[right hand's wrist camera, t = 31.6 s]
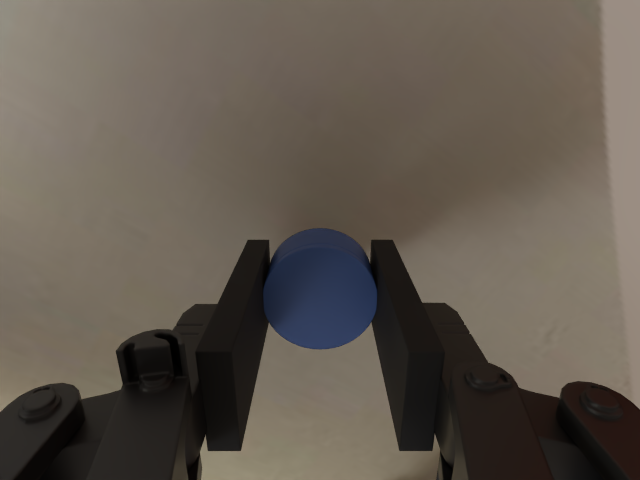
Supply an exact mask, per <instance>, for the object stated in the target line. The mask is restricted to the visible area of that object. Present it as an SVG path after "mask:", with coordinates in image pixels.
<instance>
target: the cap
mask: <svg viewBox="0 0 640 480" xmlns="http://www.w3.org/2000/svg"><path fill="white" fill-rule="evenodd" d="M263 301H264V312H265V315H266V317H267V319H268V321H269V323H270V324H271V326H272V327H273V328H274V330H275V331H276V332H277V333H278V334H279V335H281V336H282V337H283V338H285V339H286V340H288V341H290V342H291V343H293V344H296V345H298V346H301V347H305V348H310V349H330V348H335V347H339V346H342V345H344V344H347V343H349V342H351V341H352V340H354V339H355V338H357V337H358V336H359V335H361V334H362V333H363V332H364V331H365V330H366V328H367V327H368V326H369V324H370V323H371V321H372V320H373V317H374V315H375V312H376V306H377V287H376V283H375V280H374V276H373V273H372V269H371V265H370V262H369V259H368V257H367V255H366V253H365V252H364V250H363V249H362V247H361V246H360V245H359V244H358V243H357V242H356V241H355V240H353V239H352V238H351V237H349V236H347V235H346V234H343V233H341V232H339V231H335V230H331V229H324V228H316V229H309V230H304V231H301V232H299V233H297V234H294V235H292V236H291V237H289V238H288V239H287V240H285V241H284V242H283V243H282V244H281V245H280V246H279V247H278V249H277V250H276V252H275V253H274V255H273V257H272V259H271V262H270V266H269V269H268V273H267V276H266V280H265V283H264V287H263Z"/></svg>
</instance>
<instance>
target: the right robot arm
mask: <svg viewBox="0 0 640 480" xmlns="http://www.w3.org/2000/svg"><path fill="white" fill-rule="evenodd" d="M370 265H371V269H372V273H373V276H374V280H375V283H376V287H377V306H376V312H375V315H374V317H373V320H372V321H371V322H372V327H373V331H374V336H375V340H376V345H377V350H378V354H379V359H380V363H381V368H382V373H383V377H384V382H385V386H386V391H387V396H388V400H389V405H390V409H391V414H392V419H393V423H394V428H395V432H396V437H397V442H398V446H399V451H432V450H433V442H434V434H435V435H436V438H437V441H438V444H439V447H440V457H439V464H438V472H437V479H436V480H640V409H639V408H638V407H636V406H635V405H634V404H633V403H632V402H631V401H629V400H628V399H627V398H625V397H624V396H623V395H621V394H620V393H618V392H616V391H614V390H611V389H609V388H607V387H605V386H602V385H598V384H595V383H591V382H580V381H577V382H572V383H568V384H566V385H565V386H564V387H563V388H562V390H561V394H560V398H558V397H553V396H548V395H544V394H539V393H535V392H531V391H527V390H524V389H521V388H519V387H518V385H517V383H516V382H515V380H514V379H513V377H512V376H511V375H510V374H509V373H507V372H506V371H505V370H503V369H502V368H500V367H498V366H496V365H493V364H491V363H488V361H487V360H486V358H485V357H484V355H483V353H482V352H481V350H480V348H479V347H478V345H477V343H476V342H475V340H474V338H473V337H472V335H471V334H469V330H468V329H467V327H466V325H464V322H463V320H462V319H461V317H460V315H459V314H458V312H457V311H455V310H454V309H452V308H451V307H450V306H448V305H447V304H446V303H422V302H421V299H420V297H419V295H418V293H417V291H416V289H415V287H414V285H413V282H412V280H411V278H410V276H409V274H408V272H407V270H406V268H405V265H404V263H403V261H402V259H401V257H400V255H399V253H398V251H397V248H396V246H395V244H394V242H393V240H371V257H370ZM269 266H270V251H269V240H248V241H247V243H246V245H245V247H244V249H243V251H242V253H241V255H240V258H239V260H238V262H237V264H236V266H235V268H234V270H233V272H232V275H231V277H230V279H229V281H228V283H227V285H226V287H225V289H224V292H223V294H222V296H221V298H220V300H219V302H218V304H195V305H194V306H192V307H191V308H190V309H188V310H187V311H186V312H184V313H183V314H182V316H181V318H180V319H179V321H178V323H177V326H175V327H174V329H173V331H172V330H169V329H156V330H151V331H146V332H142V333H140V334H137V335H135V336H132V337H131V338H129V339H128V340H126V341H125V342H123V343H122V344H121V345H120V346H119V348H118V349H117V350H116V354H117V359H118V364H119V368H120V373H121V378H122V382H123V386H122V388H121V390H119V391H115V392H112V393H109V394H104V395H100V396H95V397H90V398H86V399H81V396H80V393H79V390H78V389H77V388H76V387H75V386H74V385H70V384H66V383H57V384H48V385H45V386H42V387H38V388H35V389H33V390H31V391H29V392H27V393H25V394H23V395H21V396H19V397H18V398H17V399H15V400H14V401H13V402H11V403H10V404H9V405H7V406H6V407H5V408H4V409H3V410H2V411H1V412H0V480H201V473H202V464H201V457H200V450H201V447H202V444H203V441H204V438H205V435H206V440H207V448H208V451H241V447H242V443H243V438H244V434H245V429H246V424H247V420H248V415H249V411H250V406H251V401H252V397H253V392H254V388H255V383H256V378H257V374H258V369H259V365H260V360H261V355H262V351H263V346H264V342H265V337H266V332H267V328H268V323H269V321H268V319H267V317H266V315H265V312H264V301H263V287H264V283H265V280H266V276H267V273H268V269H269Z"/></svg>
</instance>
